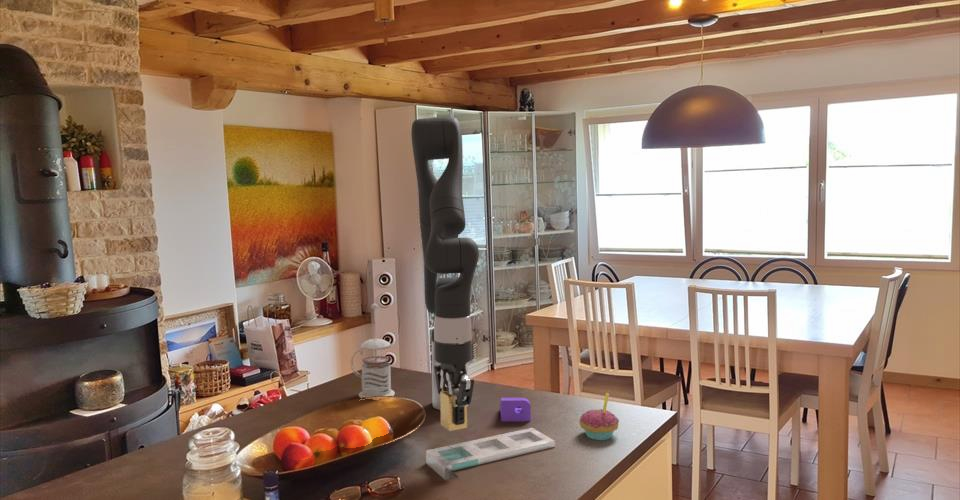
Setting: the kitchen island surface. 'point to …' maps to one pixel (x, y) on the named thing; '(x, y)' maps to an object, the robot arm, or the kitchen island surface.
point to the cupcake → (599, 422)
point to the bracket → (515, 409)
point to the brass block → (449, 412)
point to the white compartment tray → (485, 450)
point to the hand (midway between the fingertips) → (453, 420)
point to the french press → (375, 369)
